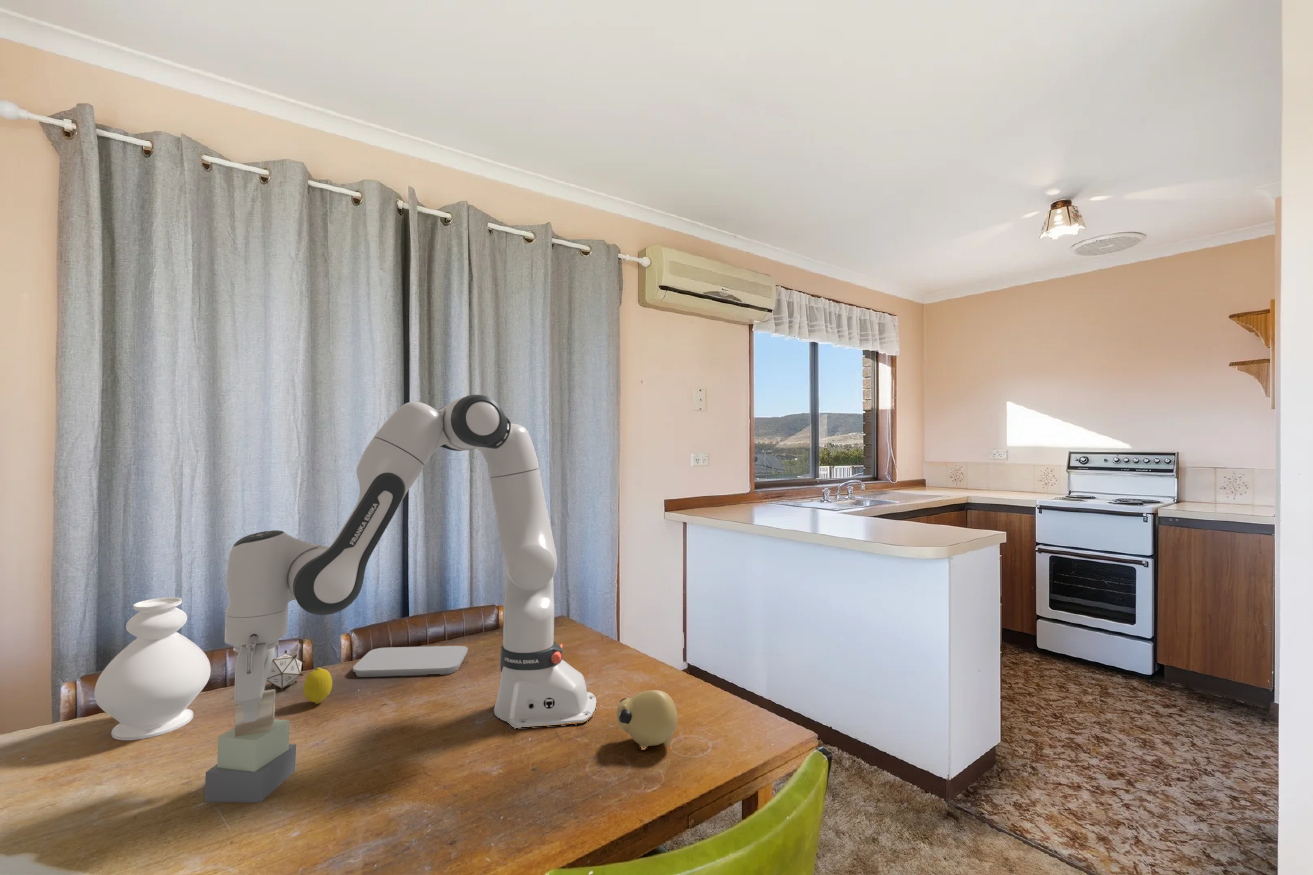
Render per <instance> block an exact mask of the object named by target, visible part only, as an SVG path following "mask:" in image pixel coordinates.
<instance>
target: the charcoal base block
mask: <svg viewBox="0 0 1313 875" xmlns="http://www.w3.org/2000/svg"><path fill="white" fill-rule="evenodd" d="M296 756H297V744H296V743H295V744H294V743H292V744H291V743H289V750H287V751H286V752H284V753H282V754H281V755H279V756H278V757H276V758H275V759H273V760H272V761H270V762H269V763H267V764H266V765H264V766H263V767H261V768H260V769H258V770H257V771H255V772H252V771H244V770H235V769H226V768H218V767H217V763H216V764H215V765H214V766H213V767H210V769H208V770H207V771H206V772H205V776H204V778H205V779H204V780H205V782H204V784H205V785H204V803H205V802H210V803H211V802H212V803H213V802H214V803H262V802H263V801H264V800H265V799H266V798H267V797H268V796H270V794H271V793H273V792H274V791H276V789H277V788H278V787H279V786H281V784H283V783H284V782H285V781H286V780H287V779H288V778H289V777H290V776H291V775H292V774H294V773H295V772H296V762H297V761H296V760H297V759H296V758H297V757H296Z"/></svg>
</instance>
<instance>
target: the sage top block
mask: <svg viewBox="0 0 1313 875" xmlns="http://www.w3.org/2000/svg"><path fill="white" fill-rule="evenodd" d="M289 742H290V720H288V719H287V720H286V719H277V718H274V721H273V725H272V729H271V730H269V731H264V732H259V733H253V734H248V735H242V736H237V737H235V727H234V728H231V729H230V730H228V731H226V732H225V733H223V734H221V735H219V736H218V737H217V757H216V758H217V761H216V764H217V767H218V768H226V769H235V770H244V771H252V772H255V771H257V770H258V769H260V768H261V767H263V766H264V765H266V764H267V763H269V762H270V761H272V760H273V759H275V758H276V757H278V756H279V755H281V754H282V753H284V752H286V751H287V750H289V744H290V743H289Z"/></svg>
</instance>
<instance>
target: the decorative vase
mask: <svg viewBox="0 0 1313 875" xmlns="http://www.w3.org/2000/svg"><path fill="white" fill-rule="evenodd" d="M182 602H183V599H182V598H181V597H177V596H176V597H175V596H174V597H173V596H172V597H159V598H158V597H157V598H150V599H147V600H142V601H138V602H135V603H134V604H133V606H132V607H133V608H132V609H133V610H134V611H136V612H137V613H136V614H134V615H133V616H132V617H130V618H129V620H128V621H127V622H126V624H125V629H126V631H127V632H128V633H129V634H130V635H132V636H134V637H136V638H135V639H134V640H132V641H131V642H130V643H129V644H128V645H126V646H125V647H124V648H123V649H122V650H121V651H120V652H118V653H117V655H116V656H114V658H112V659H111V661H110V662H109V663H108V664H107V665H106V667H105V668H104V669H103V670H102V672H101V673H100V675H98V676H99V677H98V678H97V681H96V684H95V687H94V694H93V695H94V696H93V697H94V700H95V702H96V705H97V706H98V707H99V708H100V709H101V710H102V711H104V713H106V714H107V715H109V716H110V717H112V718H113V719H115V720H116V721H117V722H119V723H118V724H117V725H115V726H114V727H113V728H112V729H111V738H113V739H114V740H115V739H116V740H119V741H137V740H145V739H149V738H154V737H158V736H161V735H165V734H167V733H170V732H173V731H175V730H176V731H177V729H180V728H182V727H184V726H185V725H187V724H188V723H190V722H191V721H192V720H193V718H194V711H193V710H192V709H189V708H188V706H190V704H191V703H192V702H193V701H194V700H195V699H196V698H197V697H198V695H199V694H200V693H201V692H202V690H203V689H204V688H205V686H206V685H207V684H208V681H209V679H210V677H211V670H212V669H211V663H210V660H209V657H207V654H206V653H205V652H204V651H203V649H201V648H200V647H199V645H197V644H196V643H195V642H193V641H192V640H190V639H188V637H186V636H184V635H183V634H181V633H179V632H178V631H179V630H180V629H181V628H182V627H183V626H184V625H185V624H186V623H187V620H188V615H187V613H186V612H185V611H183V610H182V609H180V608H178V607H177V606H180V605H182Z"/></svg>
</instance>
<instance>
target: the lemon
mask: <svg viewBox="0 0 1313 875" xmlns="http://www.w3.org/2000/svg"><path fill="white" fill-rule="evenodd" d="M332 688H333V678H332V675H331V673H330V671H328V670H327V669H325V668H321V667H316V669H314V670H312V671H310V672H309V673H308V674H307V676H306V678H305V679H304V682H303V696H304V697H305V699H306V700H307V701H309V702H312V703H314V704H316V705H318V704H320V703H321V701H324V700H325V699H326V698H327V697H328V696H329V695H330V693H331V691H332Z"/></svg>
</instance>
